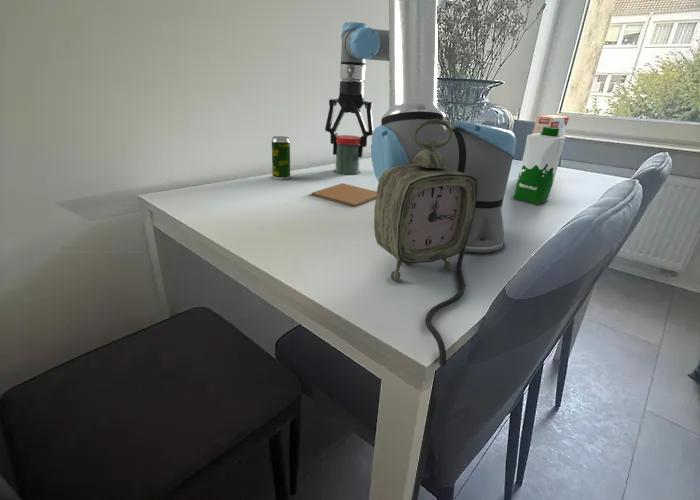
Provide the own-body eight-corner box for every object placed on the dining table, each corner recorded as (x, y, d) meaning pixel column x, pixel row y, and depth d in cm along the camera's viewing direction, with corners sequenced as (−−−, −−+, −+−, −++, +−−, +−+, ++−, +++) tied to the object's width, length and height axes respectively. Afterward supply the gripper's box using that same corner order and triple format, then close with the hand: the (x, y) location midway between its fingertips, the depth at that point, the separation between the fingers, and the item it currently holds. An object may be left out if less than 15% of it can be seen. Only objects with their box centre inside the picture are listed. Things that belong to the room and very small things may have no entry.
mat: (354, 206, 98) (354, 204, 97) (311, 194, 105) (311, 192, 104) (382, 195, 108) (383, 193, 108) (342, 185, 115) (342, 183, 115)
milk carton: (551, 200, 113) (571, 129, 105) (539, 206, 107) (559, 131, 99) (521, 193, 118) (538, 125, 110) (508, 198, 112) (525, 126, 104)
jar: (350, 175, 126) (351, 142, 122) (330, 171, 130) (331, 139, 126) (363, 172, 132) (365, 140, 128) (344, 167, 136) (346, 137, 132)
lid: (331, 141, 128) (331, 135, 127) (351, 140, 133) (351, 134, 132) (345, 145, 122) (345, 139, 121) (366, 144, 126) (366, 138, 126)
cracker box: (537, 180, 135) (553, 117, 127) (520, 176, 139) (535, 115, 131) (553, 175, 144) (570, 116, 135) (537, 172, 148) (552, 114, 139)
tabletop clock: (390, 288, 61) (410, 122, 51) (364, 263, 69) (376, 114, 58) (462, 273, 67) (492, 123, 57) (431, 252, 75) (452, 115, 64)
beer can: (283, 174, 123) (283, 135, 118) (293, 178, 119) (293, 138, 114) (269, 176, 119) (267, 136, 114) (278, 180, 116) (278, 139, 111)
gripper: (315, 78, 118) (314, 154, 127) (384, 83, 114) (377, 160, 124) (322, 78, 124) (320, 150, 134) (387, 82, 121) (380, 156, 131)
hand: (348, 155), depth 129 cm, fingers closed on lid, 8 cm apart
